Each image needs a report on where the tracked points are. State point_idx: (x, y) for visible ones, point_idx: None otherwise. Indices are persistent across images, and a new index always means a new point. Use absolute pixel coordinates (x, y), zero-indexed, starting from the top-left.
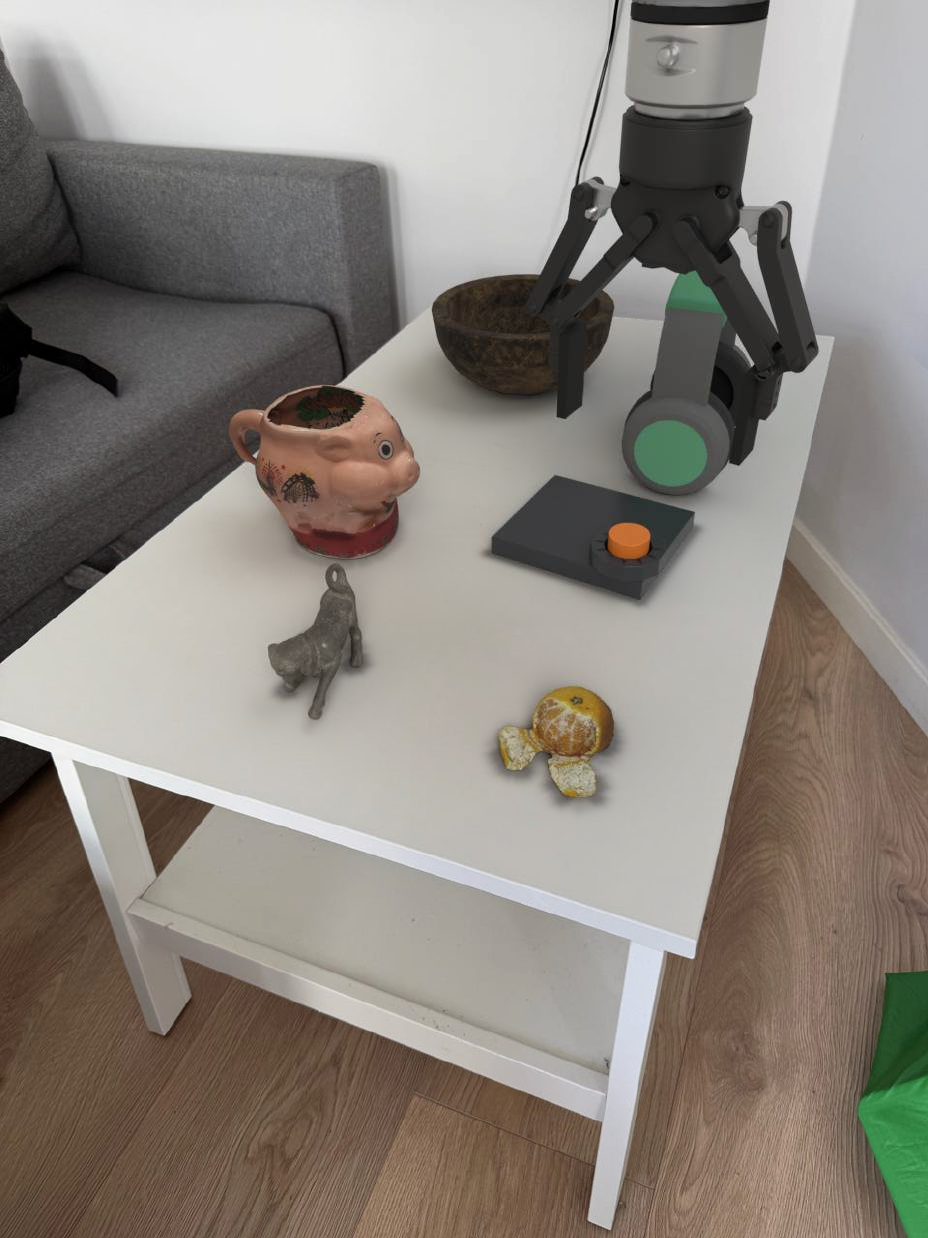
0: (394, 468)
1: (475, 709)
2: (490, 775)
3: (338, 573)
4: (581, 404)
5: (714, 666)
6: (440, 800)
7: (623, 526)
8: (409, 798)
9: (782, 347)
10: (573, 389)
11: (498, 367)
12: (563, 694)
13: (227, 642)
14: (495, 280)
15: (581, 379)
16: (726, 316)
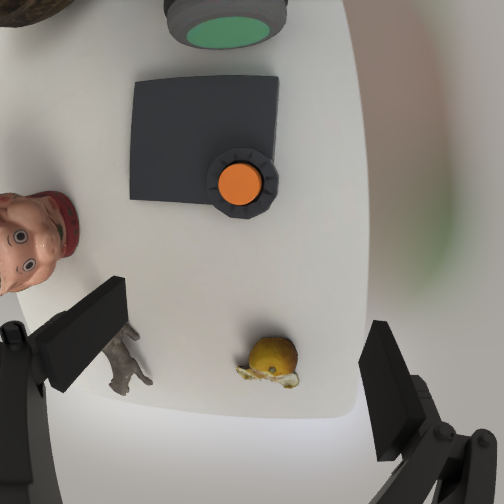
0: (43, 261)
1: (213, 349)
2: (244, 383)
3: None
4: (124, 280)
5: (345, 263)
6: (230, 399)
7: (228, 175)
8: (216, 400)
9: (433, 497)
10: (109, 321)
11: (44, 14)
12: (262, 367)
13: None
14: None
15: (103, 302)
16: None
